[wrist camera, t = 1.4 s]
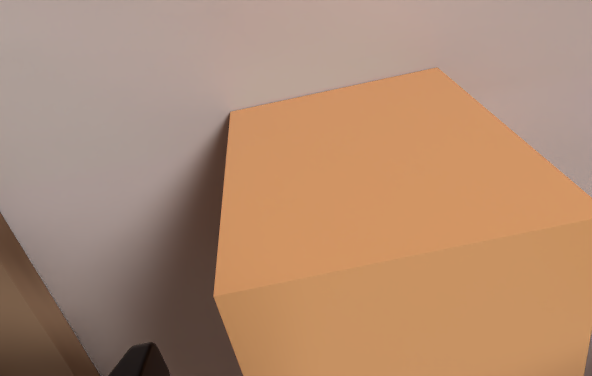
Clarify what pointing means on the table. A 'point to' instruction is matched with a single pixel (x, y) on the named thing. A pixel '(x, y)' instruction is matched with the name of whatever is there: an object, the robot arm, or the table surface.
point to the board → (33, 321)
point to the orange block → (399, 239)
